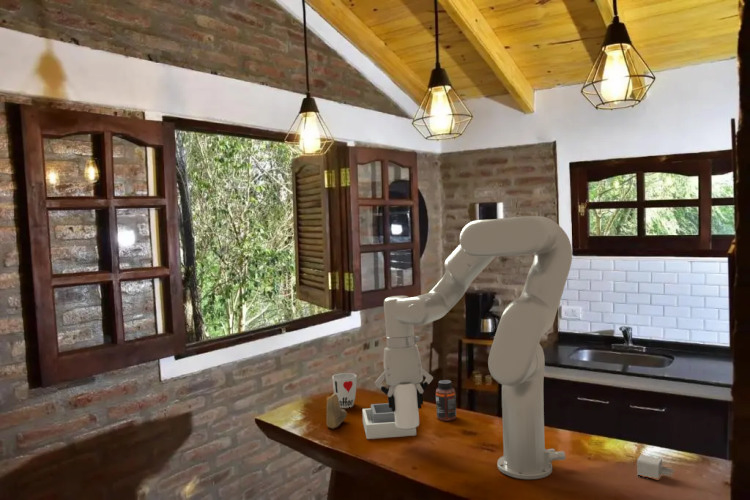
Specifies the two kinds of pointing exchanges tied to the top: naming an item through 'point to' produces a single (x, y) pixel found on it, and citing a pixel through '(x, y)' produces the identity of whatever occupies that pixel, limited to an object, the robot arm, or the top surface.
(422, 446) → the top surface
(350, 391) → the cup
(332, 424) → the stone
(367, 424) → the inlet box
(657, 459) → the usb wall charger
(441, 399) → the supplement bottle
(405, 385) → the can
